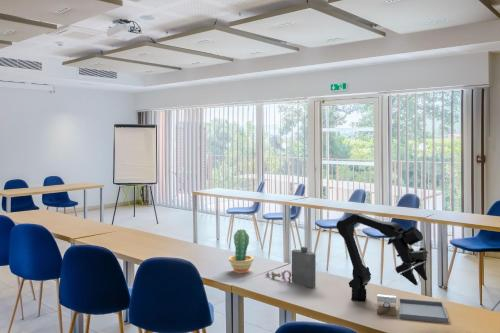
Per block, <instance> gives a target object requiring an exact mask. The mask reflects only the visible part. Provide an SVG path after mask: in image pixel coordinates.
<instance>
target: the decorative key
mask: <svg viewBox="0 0 500 333" xmlns="http://www.w3.org/2000/svg"><path fill="white" fill-rule="evenodd" d="M286 273H288V277H287V279H288V280H287V279H286V277H285V275H286ZM265 276H266V277H268V278H269V277H270V276H271V278H272V279H275V278H276V277H278V278H281V280H283V281H284V282H285V283H286V284H287V283H291V282H292V271H290V270H289V269H286V270H284V271H281V273H275V272H274V271H271V273H270V272H269V271H268V272H267V273H266V274H265Z"/></svg>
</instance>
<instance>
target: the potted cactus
mask: <svg viewBox="0 0 500 333" xmlns="http://www.w3.org/2000/svg"><path fill="white" fill-rule="evenodd" d="M233 242H234V243H233V244H234V248H235V252H234V253H235V254H234V255H231V256H229V257H228V262H229V263H230V266H231V268H232V269H233V272H234V273H236V274H246V273H249V269H250V268H251V266H252V262H254V260H255V259H254V256H253V255H250V254H247V251H248V246H249V244H250V236H249V234H248V233H247V231H246V229H244V228H242V229H241V228H240V229H237V230H236V231H235V233H234V234H233Z"/></svg>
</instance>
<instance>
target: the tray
mask: <svg viewBox="0 0 500 333" xmlns="http://www.w3.org/2000/svg"><path fill="white" fill-rule="evenodd" d="M397 302H398V312H399V319H402V320H403V319H405V320H415V321H424V322H435V323H446V324H448V323H449V316H448V313H447V311H446V307H445V305H444V302H443V301H434V300H423V299H411V298H399V297H398V301H397Z"/></svg>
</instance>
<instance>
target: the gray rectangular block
mask: <svg viewBox="0 0 500 333" xmlns="http://www.w3.org/2000/svg"><path fill="white" fill-rule="evenodd" d="M376 297H377V298H376V299H377V300H376V303H377V302H384V307H389V303H396V304H397V296H396V295H388V294H377V295H376Z"/></svg>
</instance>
